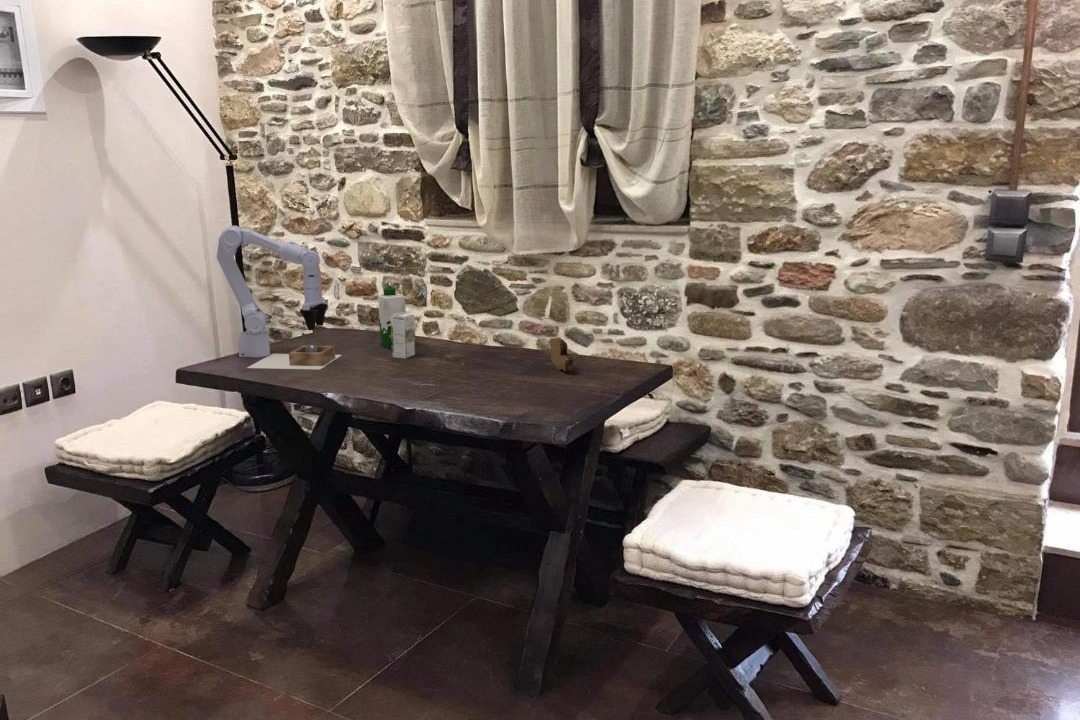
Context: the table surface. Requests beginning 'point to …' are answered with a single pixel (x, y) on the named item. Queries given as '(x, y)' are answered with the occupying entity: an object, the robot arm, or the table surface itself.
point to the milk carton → (389, 313)
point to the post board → (285, 361)
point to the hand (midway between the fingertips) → (315, 327)
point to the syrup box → (403, 335)
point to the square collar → (312, 356)
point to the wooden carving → (560, 354)
